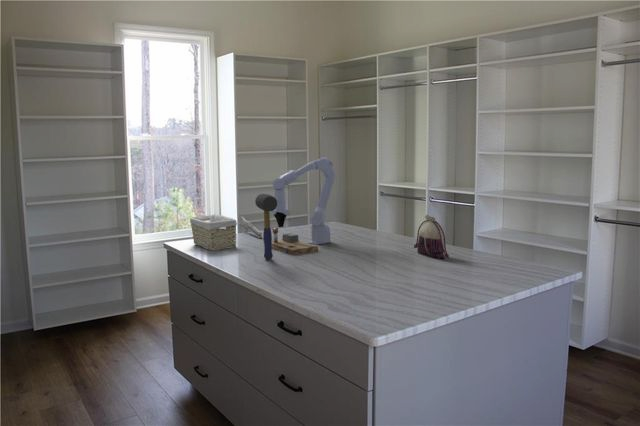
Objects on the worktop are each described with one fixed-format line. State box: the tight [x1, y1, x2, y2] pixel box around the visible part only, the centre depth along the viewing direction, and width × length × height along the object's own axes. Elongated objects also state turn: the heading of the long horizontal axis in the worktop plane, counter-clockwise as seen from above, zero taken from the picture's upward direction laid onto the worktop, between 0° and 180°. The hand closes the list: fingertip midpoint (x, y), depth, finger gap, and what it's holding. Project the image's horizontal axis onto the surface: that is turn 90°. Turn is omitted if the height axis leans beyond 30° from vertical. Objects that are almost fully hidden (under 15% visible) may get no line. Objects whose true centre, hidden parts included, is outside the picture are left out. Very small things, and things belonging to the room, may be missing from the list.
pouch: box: [413, 214, 450, 260], centre depth 250 cm, size 25×8×19 cm, turn 33°
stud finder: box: [282, 232, 299, 242], centre depth 281 cm, size 5×7×3 cm
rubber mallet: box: [254, 193, 277, 261], centre depth 250 cm, size 12×8×30 cm, turn 24°
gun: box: [239, 216, 263, 239], centre depth 315 cm, size 2×30×8 cm, turn 28°
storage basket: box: [189, 213, 238, 251], centre depth 285 cm, size 24×16×15 cm
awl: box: [271, 227, 279, 242], centre depth 278 cm, size 3×3×7 cm
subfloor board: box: [271, 238, 319, 256], centre depth 274 cm, size 15×26×2 cm, turn 35°
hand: (280, 227), depth 288 cm, fingers closed
